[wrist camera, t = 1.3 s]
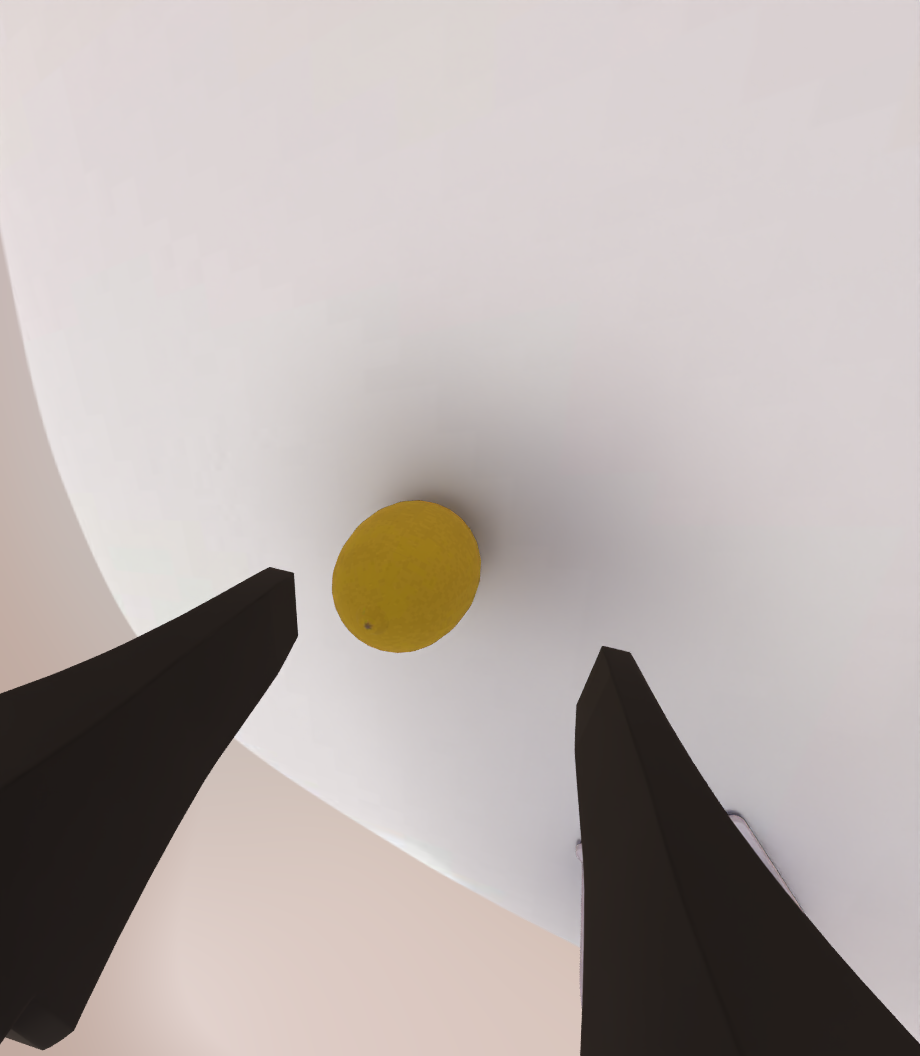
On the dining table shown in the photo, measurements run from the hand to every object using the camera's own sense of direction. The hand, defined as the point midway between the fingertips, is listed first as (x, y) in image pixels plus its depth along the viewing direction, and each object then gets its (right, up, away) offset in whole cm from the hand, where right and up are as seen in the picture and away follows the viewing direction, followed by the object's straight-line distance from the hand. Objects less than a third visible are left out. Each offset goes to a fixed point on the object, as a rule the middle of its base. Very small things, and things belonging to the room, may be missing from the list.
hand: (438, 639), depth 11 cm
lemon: (0, +2, +12) cm, 12 cm away
